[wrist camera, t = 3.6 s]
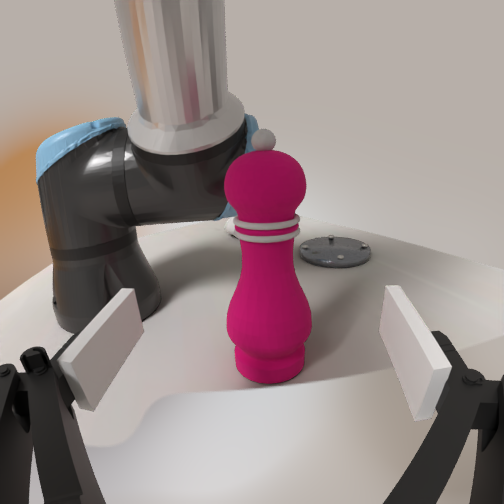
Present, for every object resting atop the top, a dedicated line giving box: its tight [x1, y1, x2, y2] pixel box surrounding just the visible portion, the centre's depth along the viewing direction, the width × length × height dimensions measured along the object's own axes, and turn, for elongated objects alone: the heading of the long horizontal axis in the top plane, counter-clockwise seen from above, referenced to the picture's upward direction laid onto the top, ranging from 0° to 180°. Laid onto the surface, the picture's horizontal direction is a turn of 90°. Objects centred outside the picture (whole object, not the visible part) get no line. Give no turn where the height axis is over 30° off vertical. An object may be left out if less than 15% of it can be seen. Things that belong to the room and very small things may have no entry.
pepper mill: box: [224, 129, 312, 384], centre depth 25 cm, size 7×7×20 cm
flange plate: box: [300, 235, 370, 268], centre depth 53 cm, size 12×12×2 cm
